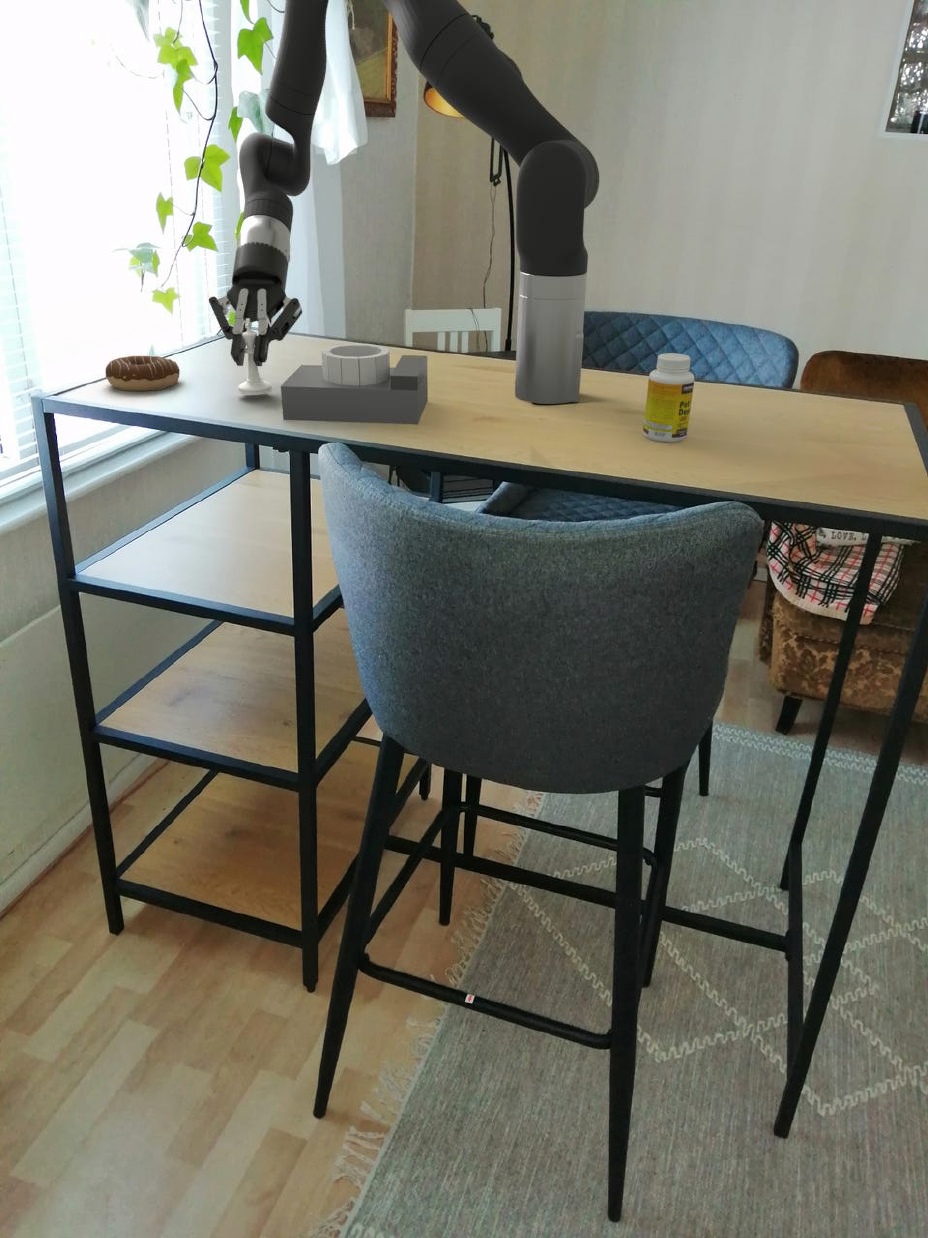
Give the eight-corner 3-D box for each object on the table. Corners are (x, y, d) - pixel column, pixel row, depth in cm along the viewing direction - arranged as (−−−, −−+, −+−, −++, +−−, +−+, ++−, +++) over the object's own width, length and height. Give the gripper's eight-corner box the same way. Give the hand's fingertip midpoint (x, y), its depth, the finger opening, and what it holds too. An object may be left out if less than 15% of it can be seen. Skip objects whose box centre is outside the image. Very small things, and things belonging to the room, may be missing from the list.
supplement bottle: (679, 446, 115) (689, 363, 111) (636, 439, 118) (645, 357, 113) (692, 435, 120) (702, 354, 115) (650, 428, 122) (659, 349, 117)
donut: (95, 393, 135) (90, 365, 133) (123, 376, 144) (119, 349, 142) (167, 395, 134) (163, 367, 132) (191, 377, 143) (188, 351, 141)
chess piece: (276, 386, 135) (270, 315, 130) (267, 395, 131) (259, 322, 126) (243, 385, 136) (236, 314, 131) (233, 394, 131) (224, 321, 126)
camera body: (427, 400, 133) (427, 343, 129) (417, 424, 122) (417, 363, 119) (303, 396, 134) (299, 339, 130) (283, 419, 123) (278, 358, 120)
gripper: (207, 239, 131) (190, 346, 126) (304, 240, 130) (290, 348, 125) (223, 273, 138) (207, 376, 133) (315, 274, 137) (302, 378, 132)
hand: (248, 362), depth 129 cm, fingers closed on chess piece
